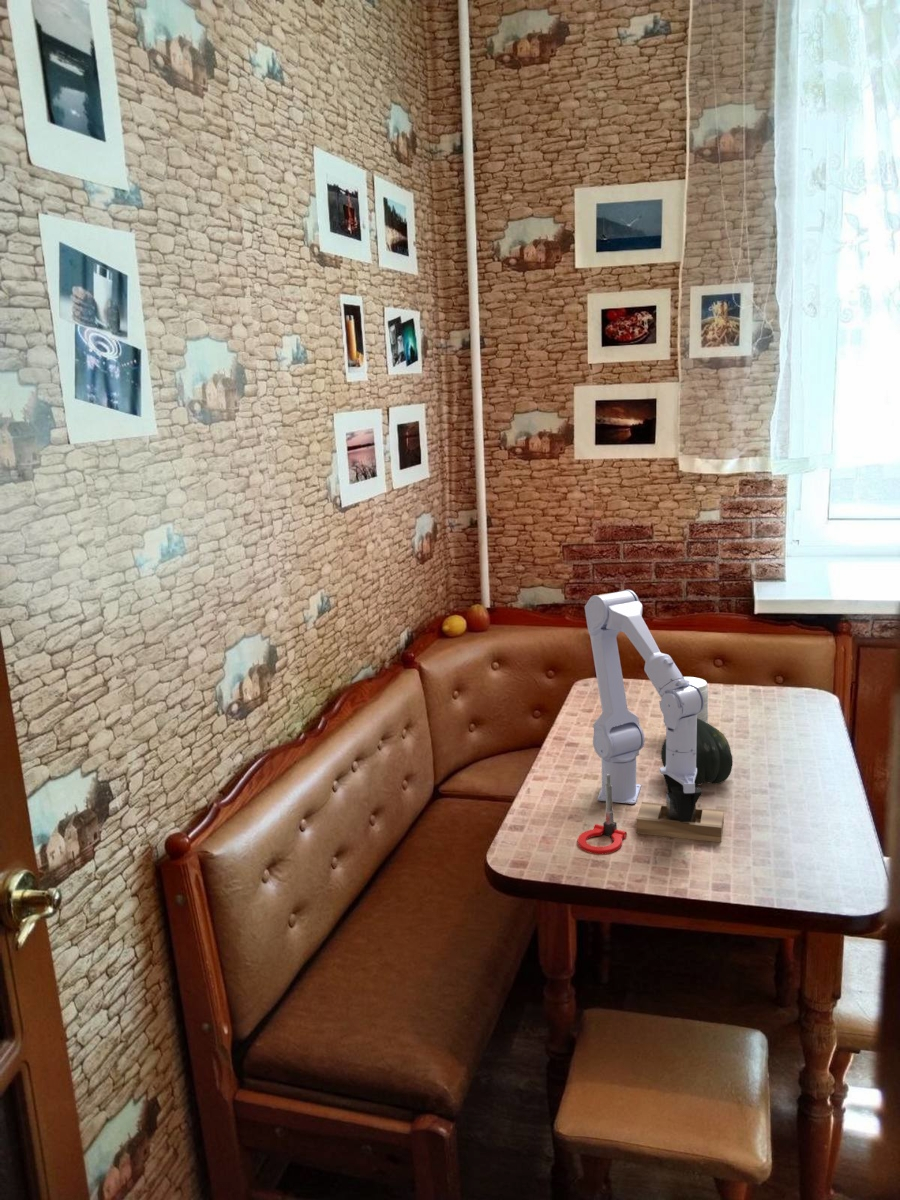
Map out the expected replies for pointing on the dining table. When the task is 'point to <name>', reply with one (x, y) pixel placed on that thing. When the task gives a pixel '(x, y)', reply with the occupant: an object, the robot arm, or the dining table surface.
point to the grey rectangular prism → (674, 809)
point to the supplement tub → (704, 690)
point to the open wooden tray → (680, 823)
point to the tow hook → (604, 828)
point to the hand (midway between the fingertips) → (680, 812)
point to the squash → (709, 755)
